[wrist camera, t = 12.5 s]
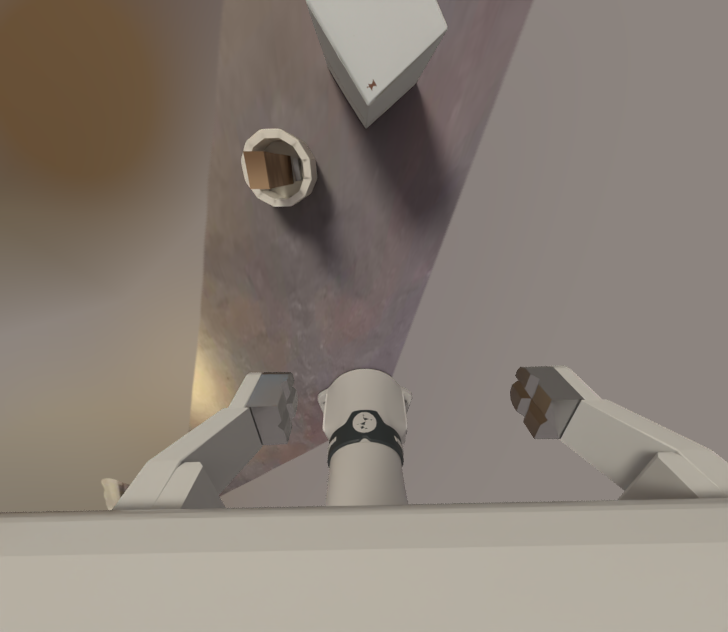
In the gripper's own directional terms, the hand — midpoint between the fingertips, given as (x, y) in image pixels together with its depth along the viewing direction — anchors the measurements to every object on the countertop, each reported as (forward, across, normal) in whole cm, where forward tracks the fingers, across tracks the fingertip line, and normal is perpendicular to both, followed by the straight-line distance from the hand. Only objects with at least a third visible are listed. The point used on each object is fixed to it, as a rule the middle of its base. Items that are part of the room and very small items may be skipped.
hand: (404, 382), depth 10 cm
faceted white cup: (+31, +11, -7) cm, 34 cm away
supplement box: (+31, 0, -16) cm, 35 cm away
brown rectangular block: (+30, +11, -7) cm, 33 cm away
